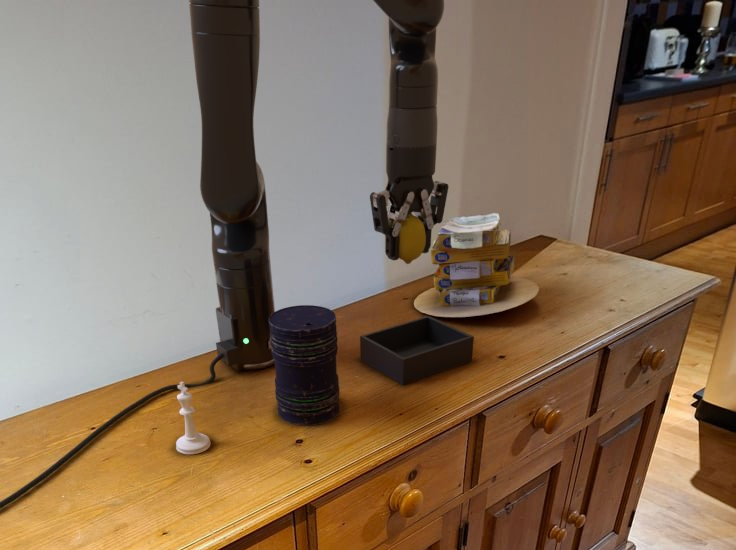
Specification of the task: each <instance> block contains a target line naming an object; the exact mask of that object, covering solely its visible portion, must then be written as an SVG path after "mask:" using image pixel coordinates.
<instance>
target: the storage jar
mask: <svg viewBox="0 0 736 550" xmlns="http://www.w3.org/2000/svg"><path fill="white" fill-rule="evenodd" d="M269 326H270V344H271V347H272V349H271V353H272V356H273V358H274V361H275V364H274V370H275V378H274V387H275V389H274V393H275V400H276V405H277V415H278V417H279V418H280V419H281V420H282V421H284V422H286V423H288V424H292V425H296V426H315V425H317V426H318V425H321V424H325V423H327V422H329V421H331V420H334V419H335V418H336V417H337V416H338V415H339V413H340V410H341V409H340V395H341V394H340V391H341V390H340V389H341V388H340V384H339V383H340V382H339V380H340V379H339V375H338V373H337V372H338V371H337V354H338V349H339V347H338V331H337V314H336V313H335V312H334V311H333V309H330V308H327V307H324V306H320V305H312V304H311V305H310V304H303V305H302V304H299V305H293V306H286V307H283V308H280V309H277V310H275V312H274V313H272V314H271V315H270V317H269Z"/></svg>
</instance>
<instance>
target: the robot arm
mask: <svg viewBox="0 0 736 550" xmlns="http://www.w3.org/2000/svg"><path fill="white" fill-rule="evenodd" d="M372 2H374V3H375V4H376V6H377V7H378V8H380V10H381V11H382V12H383V13H384V14H385V16H387V19H388V41H389V57H390V66H389V76H388V110H387V111H388V112H387V118H386V119H387V120H386V145H385V146H386V149H385V150H386V152H385V153H386V155H385V167H386V168H385V173H386V175H387V184H386V186H385V189H384V190H381V191H379V192H375V191H373V192H371V193H370V195H369V201H370V208H371V209H370V210H371V215H372V223H373V228H374V232H376V233H380V234H383V235H384V237H385V240H384V241H385V242H384V244H385V245H384V247H385V248H384V249H385V251H384V252H385V255H386V256H387V258H388V259H389V260H391V261H398V260H400V258H399V236H397V235H398V233H399V230H400V227H401V224H402V223H403V222H404V221H405V219H406V216H407V214H410V213H412V214H413V215H414V216H416V217H418V218H419V219H420V220H421V221H422V223H423V225H424V228H425V233H426V243H425V248H424V250H423V252H422V254H428V253H429V251H430V250H431V247H432V230H433V228H434V227H435V226H436V225H437V224H441V223H442V222H443V220H444V219H443V218H444V213H445V208H446V204H447V203H446V202H447V198H448V193H449V184H448V183H446V182H442V181H437V180H435V181H434V179H433V176H434V174H435V173H436V165H437V164H436V163H437V162H436V161H437V145H438V144H437V143H438V142H437V140H438V109H437V107H438V106H437V104H438V87H439V71H438V64H437V61H436V48H437V47H436V45H437V27H438V26H439V24H440V23H441V20H442V19H443V15H444V11H445V0H372ZM188 3H189V4H188V5H189V20H190V33H191V44H192V53H193V63H194V71H195V79H196V80H195V81H196V87H197V96H198V101H199V109H200V118H201V157H200V159H201V161H200V179H199V180H200V181H199V190H200V196H201V199H202V202H203V204H204V206H205V208H206V210H207V211H208V212H209V217H210V226H211V227H210V228H211V229H210V230H211V255H212V262H213V268H214V269H213V270H214V277H215V283H216V288H217V289H216V290H217V297H218V304H219V306H218V307H216V308H215V314H216V323H217V329H218V337H219V341H217V342H216V343H215V347H216V354H217V356H216V357H215V358H214V359H213V360H212V361H211V363H210V365H209V373H210V377H209V378H208V379H207V380H205V381H204V382H200V383H192V384H191V383H189V384H188V383H184V385H185V387H187V388H188V389H189V388H196V387H201V386H205V385H209V384H211V383H213V382H214V380H215V379H216V377H217V376H216V372H215V371H216V370H215V366H216V364H217V363H218V362H219V361H220V362H222V363H223V364H225V365H226V366H228V367H231V368H233V369H234V370H235V371H237V372H241V371H254V370H262V369H266V368H268V367H271V366H273V365H275V361H274V358H273V356H272V353H271V349H272V347H271V344H270V326H269V317H270V315H271V314H272V313H274V312H276V309H275V308H276V307H275V299H274V298H275V296H274V286H273V285H274V284H273V275H272V263H271V254H270V253H271V252H270V229H269V217H268V215H269V214H268V205H267V204H268V203H267V193H266V192H267V191H266V183H265V177H264V174H263V171H262V168H261V167H260V165H259V163H258V161H257V154H256V145H255V131H254V117H255V103H256V95H257V88H258V79H259V68H260V51H261V50H260V49H261V28H260V27H261V25H260V24H261V21H260V19H261V18H260V0H188ZM429 198H430V200H429ZM388 201H389V202H388ZM396 213H397V214H396ZM178 385H180V383H179V384H171V385H166V386H163V387H160V388H158V389H156V390H154V391H151V392H149V393H148V394H147V395H145V396H143V397H141V398H140V399H138V400H136V401H135V402H133V403H132V404H130V405H128V406H127V407H126V408H124V409H123V410H121V411H119V412H118V413H117V414H115V415H114V416H113V417H111V418H110V419H108V420H107V421H106V422H105V423H103V424H102V425H100V427H98V428H97V429H95V430H94V431H93V432H92V433H90V434H89V435H88V436H87V437H86V438H84V439H83V440H82V441H81V442H79V443H78V444H77V445H76V446H75V447H73V448H72V449H71V450H70V451H69V452H67V453H66V454H64V455H63V457H61V458H60V459H58V461H56V462H55V463H53V464H52V465H51V466H50V467H49V468H47V469H46V470H45V471H43V472H42V473H41V474H39V475H38V476H37V477H35V478H33V480H31V481H30V482H28V483H27V484H25V485H24V486H22V487H21V488H19V489H18V490H17V491H15V492H13V493H12V494H11V495H9V496H7V497H6V498H4V499H2V500H1V501H0V509H2V508H4V507H5V506H7V505H9V504H10V503H12V502H13V501H15V500H16V499H18V498H20V497H21V496H22V495H24V494H25V493H27V492H28V491H30V490H31V489H33V488H34V487H35V486H36V485H38V484H39V483H41V482H42V481H44V479H46V478H48V477H49V476H50V475H52V474H53V473H54V472H55V471H57V469H59V468H60V467H62V466H63V465H64V464H65V463H66V462H68V461H69V460H70V459H71V458H72V457H73V456H75V455H76V454H77V453H78V452H80V451H81V450H82V449H83V448H85V447H86V446H87V445H88V444H89V443H90V442H92V441H93V440H94V439H95V438H97V436H99V435H100V434H102V433H103V432H105V430H107V429H108V428H110V427H111V426H112V425H113V424H114V423H116V422H117V421H119V420H120V419H121V418H122V417H124V416H126V415H127V414H129V413H130V412H131V411H133V410H134V409H136V408H138V407H140V406H141V405H143V404H144V403H146V402H147V401H149V400H151V399H152V398H154V397H156V396H158V395H160V394H163V393H165V392H168V391H171V390H179V389H178Z"/></svg>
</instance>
